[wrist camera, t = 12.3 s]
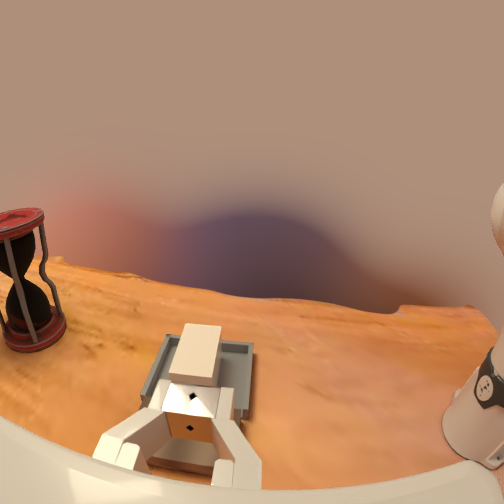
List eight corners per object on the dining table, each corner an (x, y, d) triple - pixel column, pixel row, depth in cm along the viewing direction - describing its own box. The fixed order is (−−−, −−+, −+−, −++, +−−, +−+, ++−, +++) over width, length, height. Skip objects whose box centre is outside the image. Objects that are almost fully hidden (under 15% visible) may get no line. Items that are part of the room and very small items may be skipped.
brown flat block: (240, 420, 39) (241, 409, 38) (234, 478, 30) (235, 468, 29) (148, 407, 40) (144, 395, 38) (129, 459, 30) (123, 449, 29)
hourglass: (60, 304, 62) (41, 202, 53) (73, 340, 51) (46, 219, 42) (4, 320, 52) (-23, 218, 42) (6, 360, 41) (-35, 239, 32)
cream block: (213, 408, 40) (221, 357, 52) (211, 377, 38) (221, 326, 49) (174, 403, 41) (188, 354, 52) (168, 372, 38) (185, 323, 49)
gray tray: (252, 353, 54) (253, 342, 53) (247, 419, 40) (248, 409, 39) (168, 344, 54) (166, 334, 53) (143, 404, 40) (140, 394, 39)
